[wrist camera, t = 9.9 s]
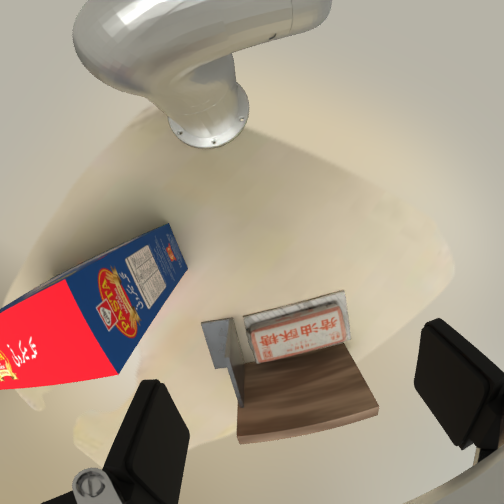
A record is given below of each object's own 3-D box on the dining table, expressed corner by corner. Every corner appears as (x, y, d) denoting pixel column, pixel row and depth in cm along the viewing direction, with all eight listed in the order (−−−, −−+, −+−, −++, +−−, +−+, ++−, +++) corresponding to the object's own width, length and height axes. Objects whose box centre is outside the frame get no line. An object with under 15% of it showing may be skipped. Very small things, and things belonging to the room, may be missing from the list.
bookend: (201, 322, 47) (189, 362, 35) (232, 317, 47) (228, 357, 35) (215, 367, 49) (208, 410, 38) (244, 363, 49) (244, 407, 37)
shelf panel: (239, 364, 49) (236, 436, 32) (343, 343, 49) (379, 406, 31) (241, 372, 50) (239, 444, 32) (344, 351, 49) (377, 414, 32)
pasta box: (71, 312, 47) (-15, 390, 19) (54, 277, 45) (-44, 339, 18) (187, 268, 45) (118, 374, 18) (168, 223, 43) (65, 279, 16)
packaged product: (257, 375, 45) (242, 328, 43) (256, 359, 50) (242, 314, 47) (357, 348, 44) (352, 299, 42) (349, 335, 49) (343, 288, 46)
